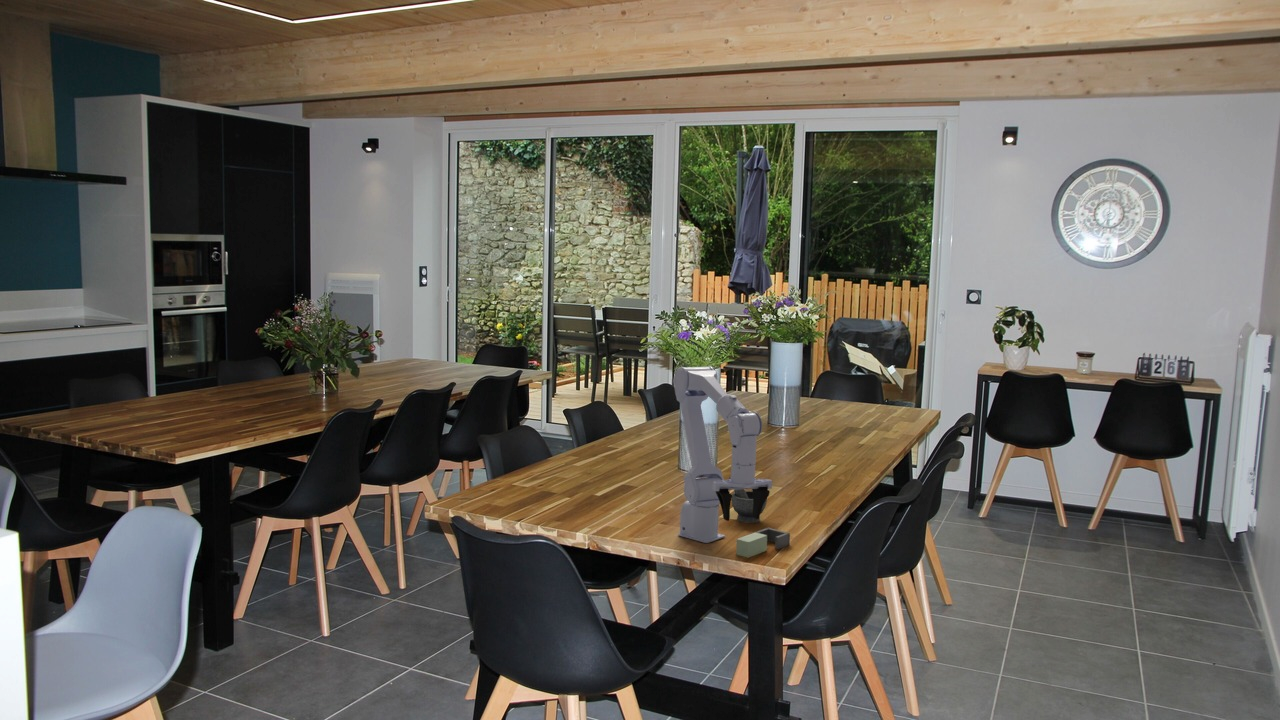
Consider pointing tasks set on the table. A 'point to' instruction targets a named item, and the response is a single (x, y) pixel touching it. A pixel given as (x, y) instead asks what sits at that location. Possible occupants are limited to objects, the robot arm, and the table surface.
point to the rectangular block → (751, 544)
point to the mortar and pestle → (744, 505)
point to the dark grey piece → (776, 537)
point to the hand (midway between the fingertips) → (741, 518)
